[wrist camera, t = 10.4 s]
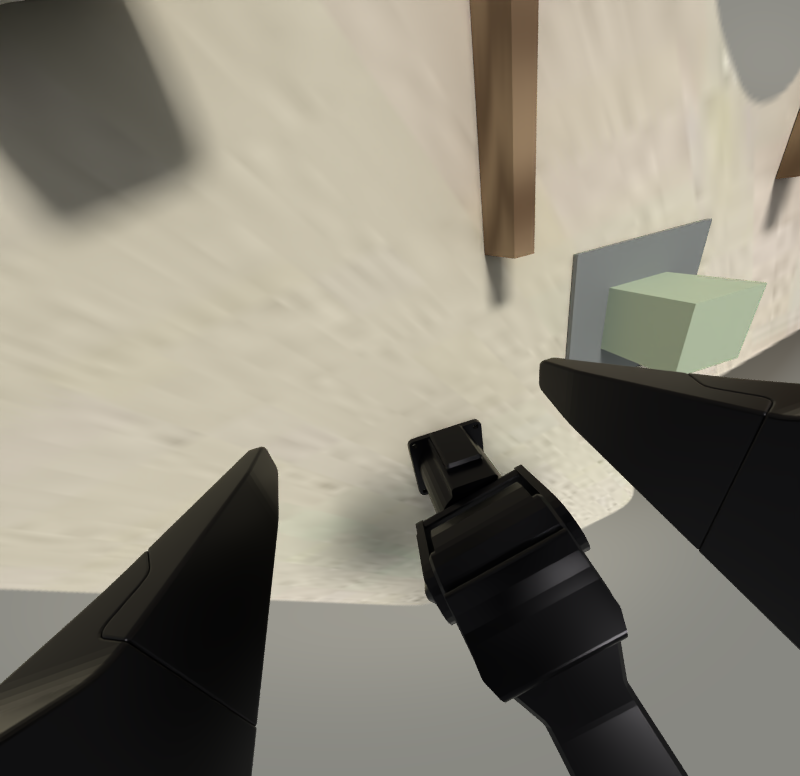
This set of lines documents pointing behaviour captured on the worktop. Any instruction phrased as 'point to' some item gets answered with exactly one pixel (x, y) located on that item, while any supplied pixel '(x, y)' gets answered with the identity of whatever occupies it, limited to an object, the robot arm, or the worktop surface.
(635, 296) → the sage block
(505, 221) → the brown open-sided frame
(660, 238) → the slate mat
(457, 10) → the worktop surface
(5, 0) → the ceramic mug
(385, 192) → the worktop surface
